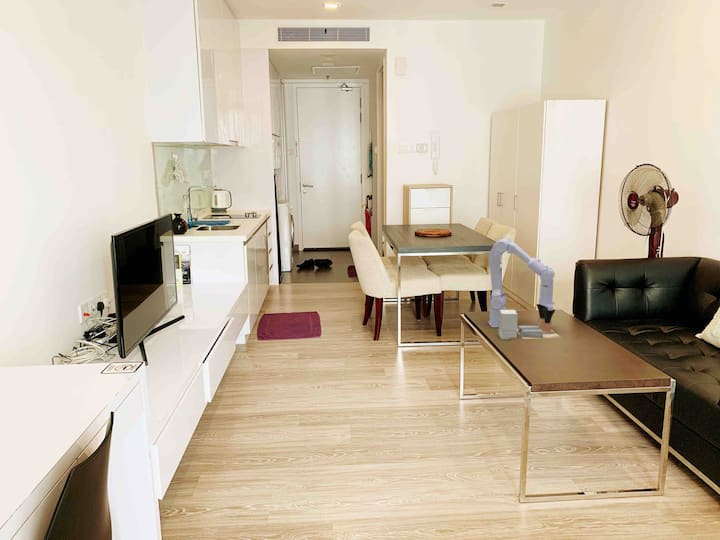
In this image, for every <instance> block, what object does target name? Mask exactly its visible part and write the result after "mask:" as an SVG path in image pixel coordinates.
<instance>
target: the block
mask: <svg viewBox="0 0 720 540" xmlns="http://www.w3.org/2000/svg"><path fill="white" fill-rule="evenodd" d="M537 326H538V327H539V328H540V329H541V330H542V331H551V329H552V320H551V321H550V323H545V320H544V318H540V317H539V318H537Z"/></svg>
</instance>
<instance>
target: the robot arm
mask: <svg viewBox="0 0 720 540" xmlns="http://www.w3.org/2000/svg"><path fill="white" fill-rule="evenodd" d="M505 252H506V254H513V255H515V256H516V257H518V258H519V259H521V260H522V261H523V262H525V263H526V264H527V268H529V269H530V271H532V272H533V273H535V274H536V275H537V276H538V277H539V278H540V280H541V281H540V291H539V299H538V303H536V307H537V310H538V315H539V318H544V320H545V323H550V321H552V318H553V315H554V313H555V312H556V310H555V309H554V307H553V305H555V304H556V303H555V302H553V293H554V278H555V275H556V274H555V271H554V270H553V269H552V268H551V267H549V266H548V265H545V264H544V263H543V262H541V259H540V258H536V257H531V256H530V255H529V254H528V253H527V252H525V251H524V250H523V249H522V248H521V247H520V246H519V245H518V244H516V242H514V241H513V240H511V239H509V238H507V237H504V238H501V239H499V240H497V241H496V242H494V244H493V245H492V248H491V250H490V251H489V254H488V263H489V264H488V265H489V271H490V272H489V273H490V280H491V288H492V291H491V299H490V302H489V303H490V304H489V305H490V306H491V307H490V309H489V320H488V321H487V324H489V326H490V328H499V314H500V310H507V308H506V304H507V303H508V297H507V295H506V294H505V290H504V288H503V279H502V269H501V260H500V258H501V257H502V256H503V254H504V253H505Z"/></svg>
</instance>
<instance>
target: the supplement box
mask: <svg viewBox="0 0 720 540" xmlns="http://www.w3.org/2000/svg"><path fill="white" fill-rule="evenodd" d="M518 315H519V314H518V313H517V311H516V309H506V310H500V314H499V327H498V336H499V338H500V340H511V339H512V338H513V339H517V337H518V335H517V334H518V332H517V327H518V319H519V318H518Z"/></svg>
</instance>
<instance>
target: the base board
mask: <svg viewBox="0 0 720 540" xmlns="http://www.w3.org/2000/svg"><path fill="white" fill-rule="evenodd" d="M517 334H518V335H519V336H520V337H521V338H522V339H526V340H527V339H528V340H529V339H530V340H531V339H535V340H536V339H540V340H541V339H545V340H546V339H548V340H549V339H553V340H554V339H555V340H556V339H557V340H558V339H563V338H562V337H561V336H560V335H559V334H558V333H556V331H554V329H552V328H551V331H542V330H541V329H540V328H539V327H538V325H517Z"/></svg>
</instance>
